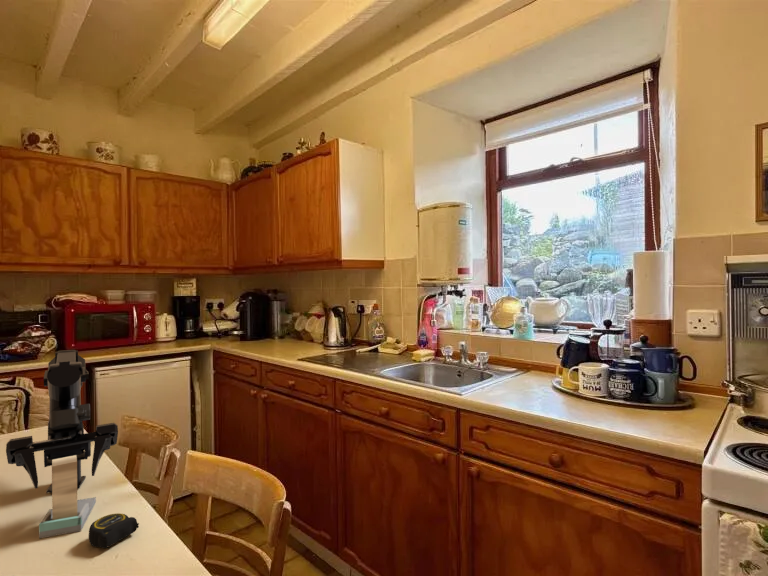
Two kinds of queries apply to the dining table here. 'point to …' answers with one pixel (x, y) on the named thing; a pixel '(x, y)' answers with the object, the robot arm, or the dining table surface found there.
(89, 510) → the grey shallow tray
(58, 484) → the beech post
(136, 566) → the dining table surface
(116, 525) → the tape measure
